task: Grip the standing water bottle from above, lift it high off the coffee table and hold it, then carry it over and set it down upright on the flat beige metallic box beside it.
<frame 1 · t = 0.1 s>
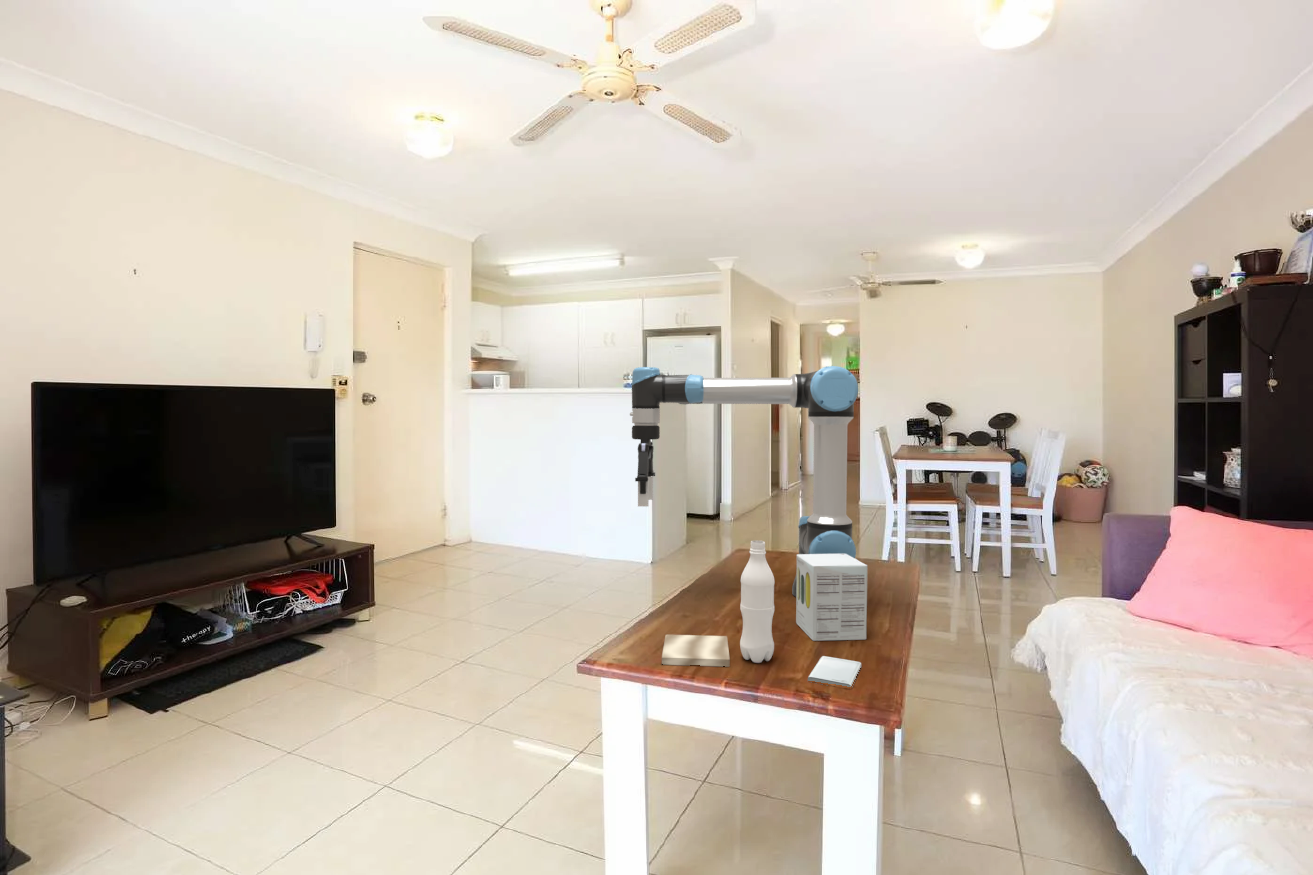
hand: (645, 502, 173), 28 cm above the table, tool pointing down, fingers open, 13 cm apart
white spiral notebook: (835, 677, 128), on the table
flat beige metallic box: (695, 653, 139), on the table
water bottle: (756, 659, 136), on the table
supplement box: (829, 632, 153), on the table
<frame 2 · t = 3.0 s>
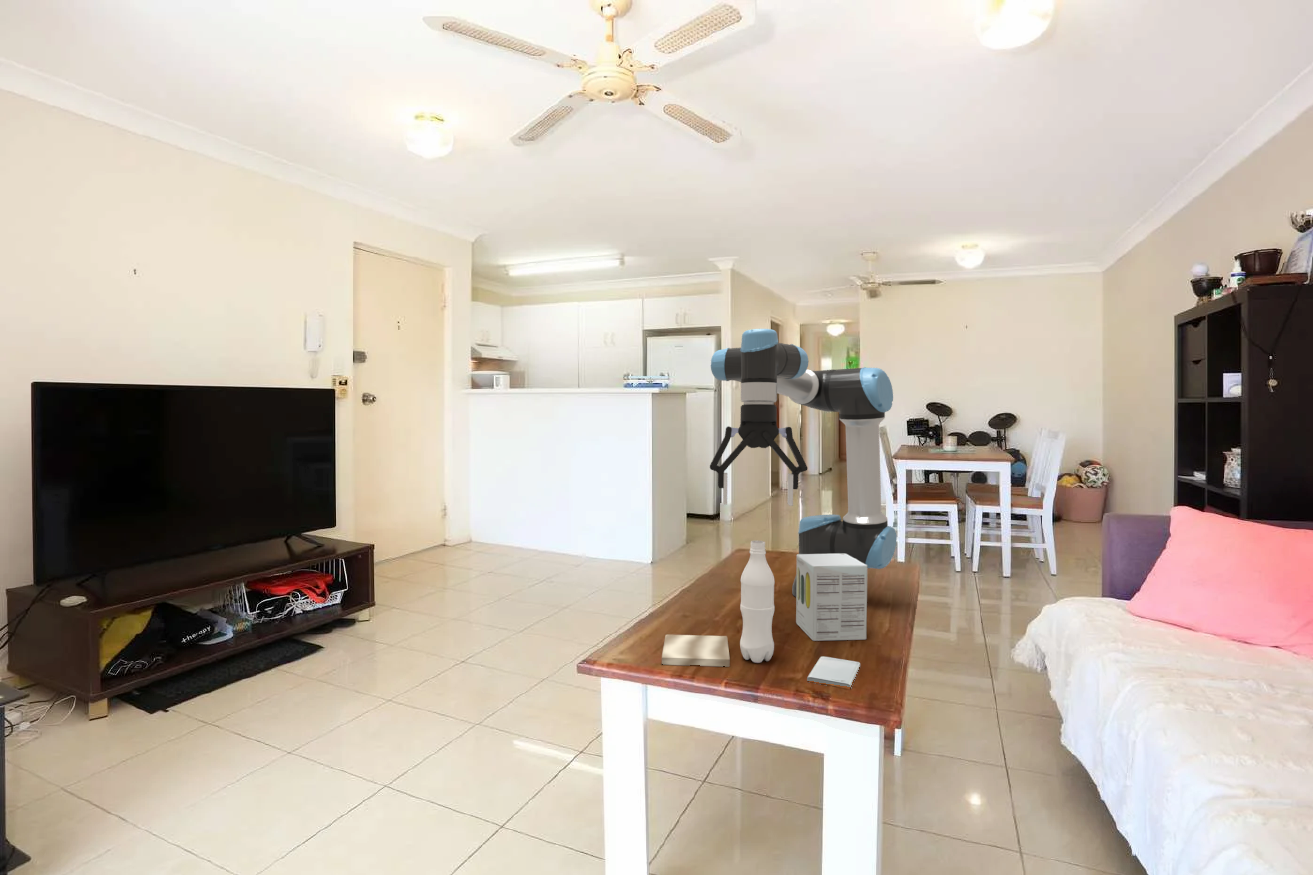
hand: (757, 504, 135), 33 cm above the table, tool pointing down, fingers open, 13 cm apart
nothing on the table moved.
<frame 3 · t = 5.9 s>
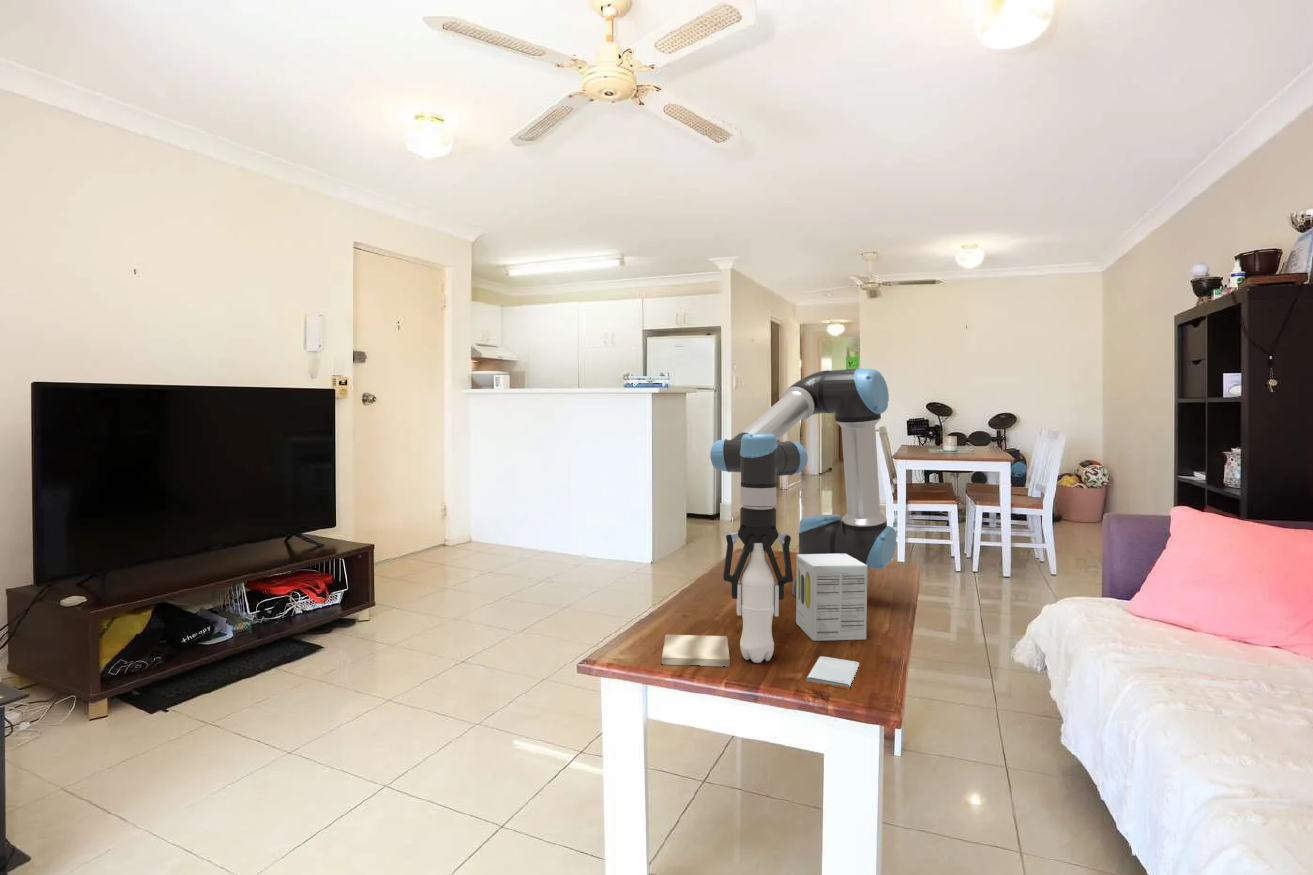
hand: (757, 613, 135), 10 cm above the table, tool pointing down, fingers closed on water bottle, 7 cm apart
water bottle: (756, 659, 136), on the table, touching gripper
everything else where it was.
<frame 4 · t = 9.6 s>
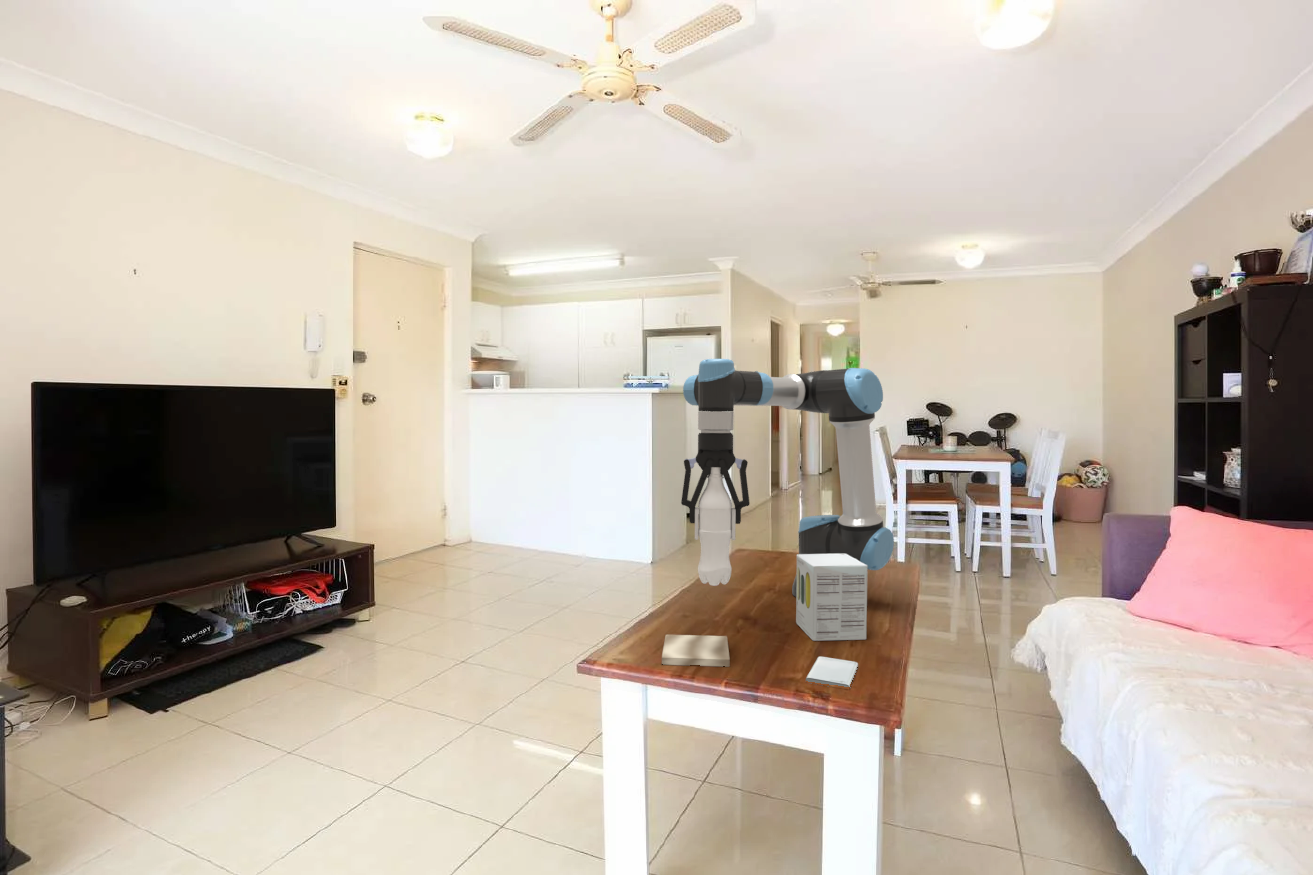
hand: (714, 538, 137), 25 cm above the table, tool pointing down, fingers closed on water bottle, 7 cm apart
water bottle: (714, 583, 137), point 16 cm above the table, touching gripper
everything else where it was.
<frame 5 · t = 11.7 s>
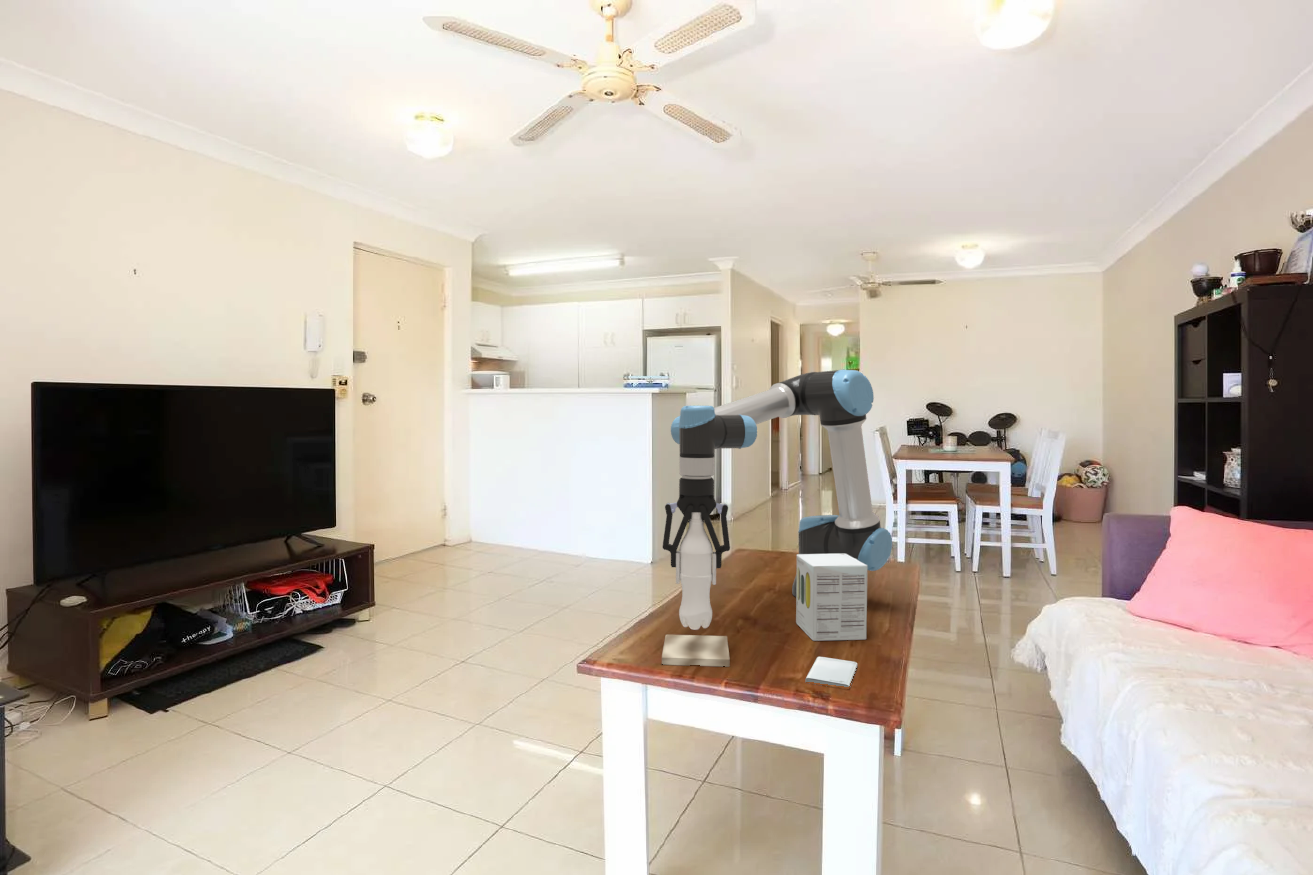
hand: (695, 582, 138), 16 cm above the table, tool pointing down, fingers closed on water bottle, 7 cm apart
water bottle: (695, 627, 138), point 6 cm above the table, touching gripper
everything else where it was.
when the fingers open (11 cm above the table, at t = 13.3 s): water bottle stays where it is, resting on flat beige metallic box.
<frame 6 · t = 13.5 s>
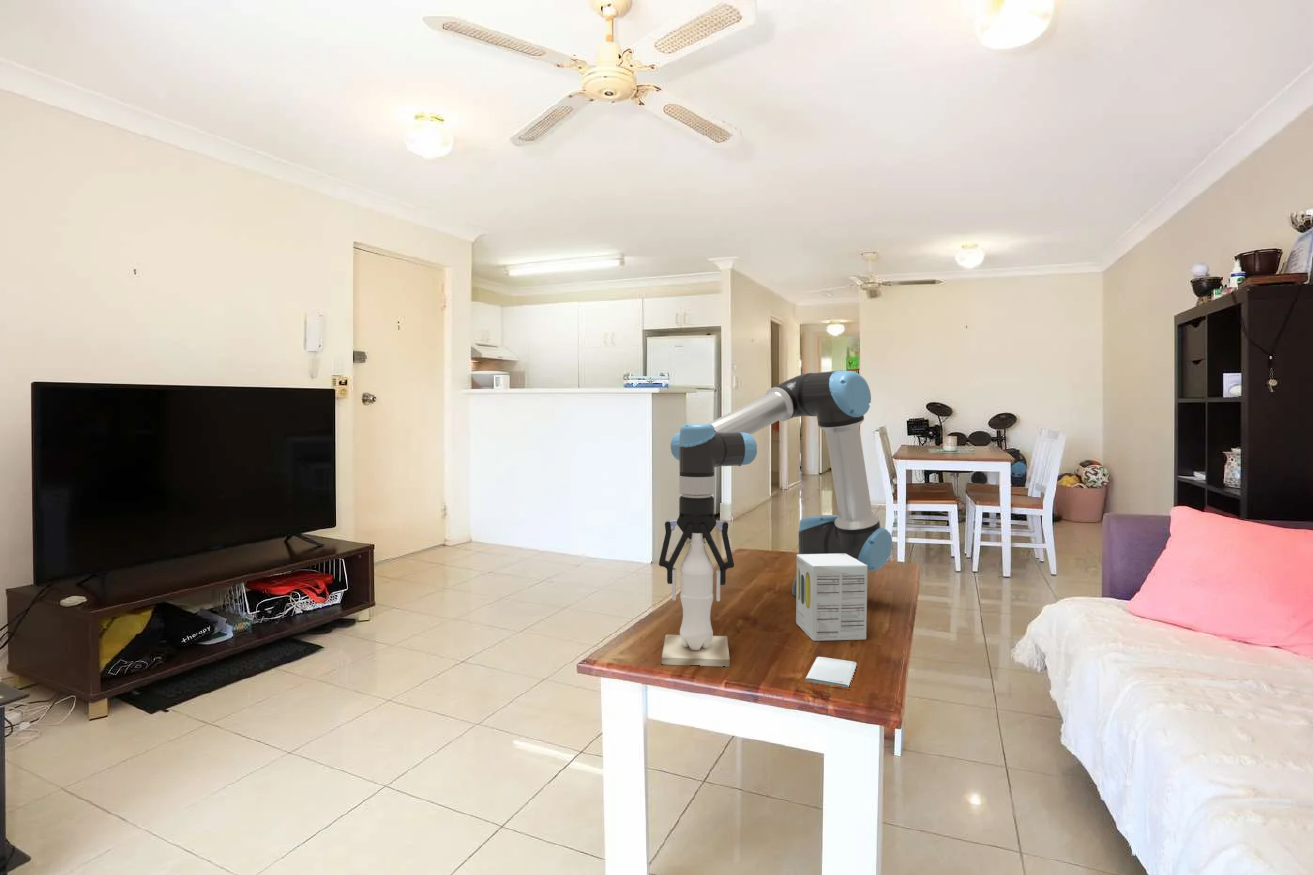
hand: (696, 598, 138), 12 cm above the table, tool pointing down, fingers open, 9 cm apart
water bottle: (696, 647, 139), point 1 cm above the table, touching flat beige metallic box
everything else where it was.
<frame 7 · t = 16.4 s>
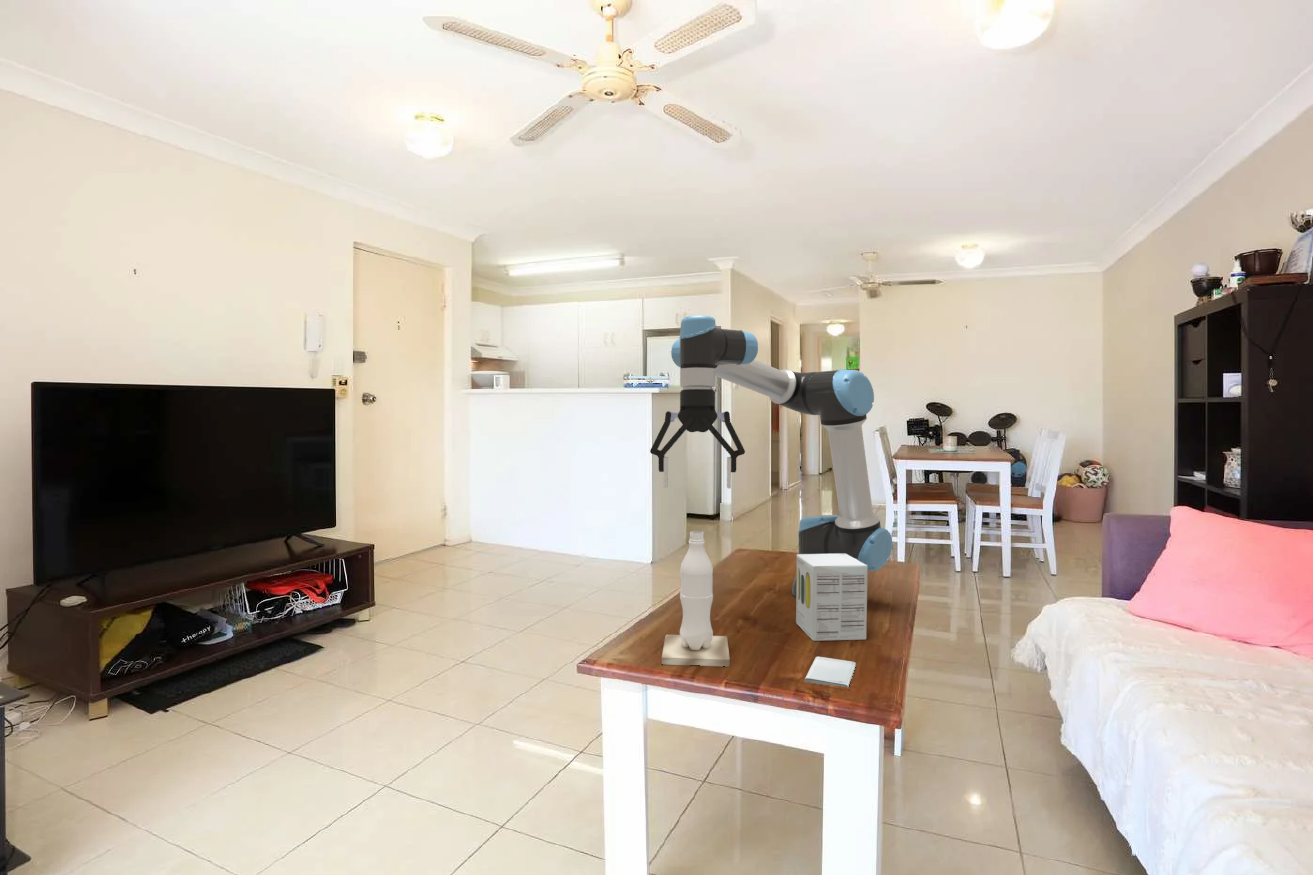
hand: (697, 487, 138), 36 cm above the table, tool pointing down, fingers open, 13 cm apart
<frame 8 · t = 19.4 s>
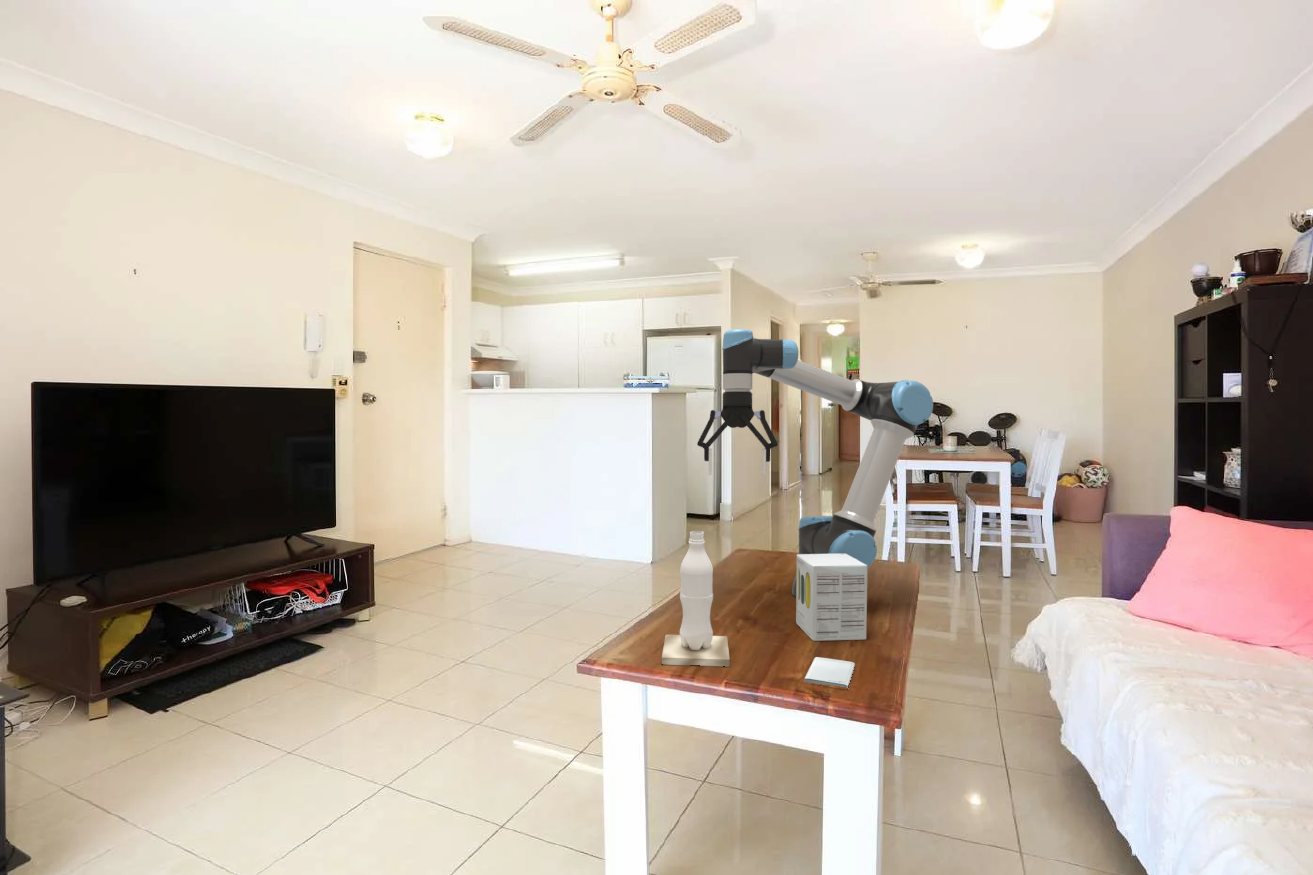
hand: (736, 474, 163), 37 cm above the table, tool pointing down, fingers open, 13 cm apart
at the end: water bottle inside the target area on the flat beige metallic box (0.1 cm from its centre), point 1.3 cm above the flat beige metallic box's base; water bottle tilted 0°; the gripper is holding nothing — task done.
